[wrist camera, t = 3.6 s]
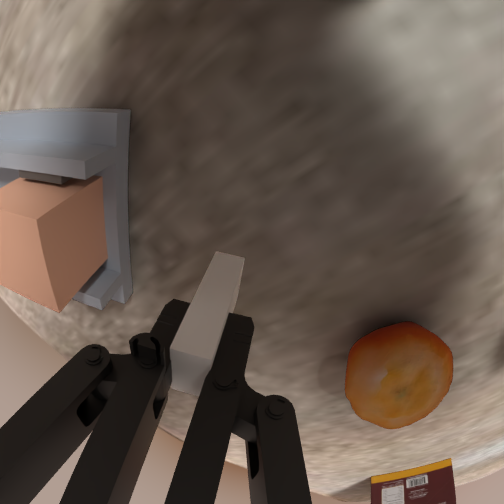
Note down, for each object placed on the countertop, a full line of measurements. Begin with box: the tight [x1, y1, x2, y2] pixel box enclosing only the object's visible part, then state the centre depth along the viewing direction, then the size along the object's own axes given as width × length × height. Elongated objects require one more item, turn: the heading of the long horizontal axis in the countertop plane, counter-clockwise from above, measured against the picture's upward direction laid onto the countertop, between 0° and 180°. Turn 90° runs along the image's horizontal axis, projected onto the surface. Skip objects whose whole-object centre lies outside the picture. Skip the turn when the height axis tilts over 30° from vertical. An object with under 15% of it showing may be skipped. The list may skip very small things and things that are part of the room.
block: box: [0, 175, 108, 313], centre depth 16 cm, size 6×6×6 cm
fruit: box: [345, 321, 453, 429], centre depth 19 cm, size 8×8×8 cm
